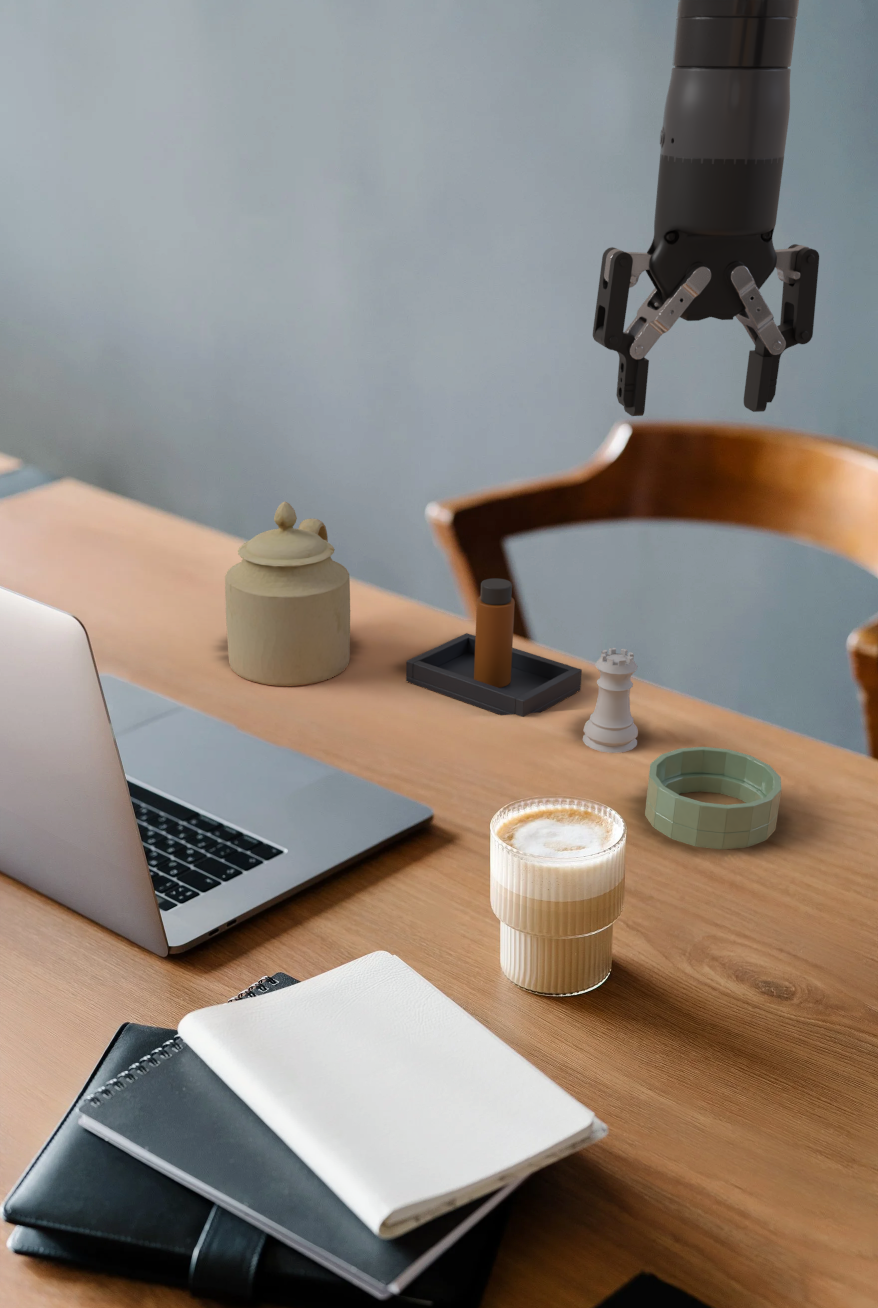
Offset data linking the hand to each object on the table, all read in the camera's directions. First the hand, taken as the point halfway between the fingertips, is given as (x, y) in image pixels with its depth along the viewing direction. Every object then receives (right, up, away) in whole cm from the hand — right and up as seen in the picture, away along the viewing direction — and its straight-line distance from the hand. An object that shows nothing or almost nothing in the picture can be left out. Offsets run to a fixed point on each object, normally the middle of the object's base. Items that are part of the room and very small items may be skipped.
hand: (694, 411), depth 93 cm
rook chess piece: (-3, -23, +18) cm, 29 cm away
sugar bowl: (-30, -14, +34) cm, 48 cm away
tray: (-11, -17, +28) cm, 35 cm away
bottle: (-11, -17, +28) cm, 34 cm away
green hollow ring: (+2, -29, +6) cm, 29 cm away
